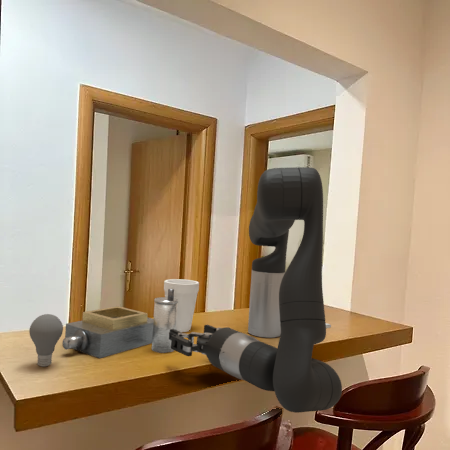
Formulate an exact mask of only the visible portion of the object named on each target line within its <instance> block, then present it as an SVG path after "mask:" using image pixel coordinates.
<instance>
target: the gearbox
mask: <svg viewBox="0 0 450 450" xmlns="http://www.w3.org/2000/svg"><path fill="white" fill-rule="evenodd" d="M153 321H154V318H152V317H148V313H147V312H143V311H140V310H135V309H132V308H131V309H130V308H127V307H122V306H117V305H116V306H112V307H111V306H110V307H105V308H100V309H94V310H88V311H83V312H82V320H78V321H73V322H68V323H65V333H64V335H65V336H64V338H63V339H62V342H61V343H62V347H63V349H64V350H71V349H73V350H75V351H77V352H81V353H84V354H86V355H89V356H92V357H94V358H97V359H102V358H105V357H109V356H112V355H115V354H116V355H117V354H119V353H123V352H127V351H130V350H132V349H136V348H140V347H144V346H147V345H150V344H151V345H152V338H153Z"/></svg>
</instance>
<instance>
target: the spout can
mask: <svg viewBox="0 0 450 450" xmlns="http://www.w3.org/2000/svg"><path fill="white" fill-rule="evenodd" d="M153 302H154V307H153V319H154V321H153V338H152V343H151V351H153V352H155V353H161V354H165V353H166V354H168V353H172V352H175V350H173V349H171V340H169V332H170V329H175V330H176V319H177V303H178V299H175V298H174V289H168V297H165V296H164V297H163V296H162V297H155V298H154V301H153Z"/></svg>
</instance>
